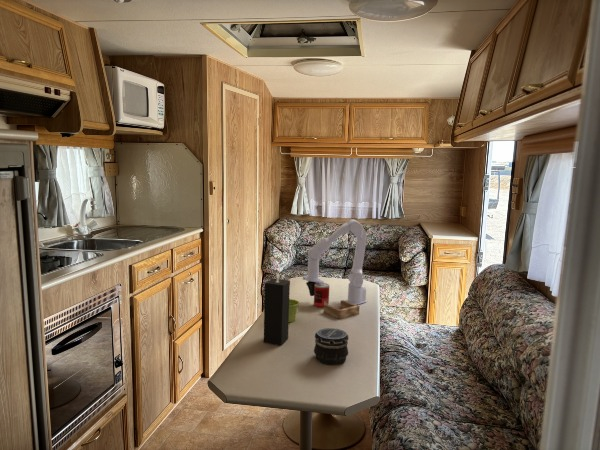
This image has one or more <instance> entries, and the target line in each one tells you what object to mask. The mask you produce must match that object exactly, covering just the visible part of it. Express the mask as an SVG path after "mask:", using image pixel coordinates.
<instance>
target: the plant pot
mask: <svg viewBox="0 0 600 450" xmlns="http://www.w3.org/2000/svg"><path fill="white" fill-rule="evenodd" d="M299 305H300V301H298V300H296V299H292V298H291V299H290V298H289V323H294V322H295V321H296V319H297V318H296V317H297V312H298V307H299Z"/></svg>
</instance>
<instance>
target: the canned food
mask: <svg viewBox="0 0 600 450" xmlns="http://www.w3.org/2000/svg"><path fill="white" fill-rule="evenodd" d="M329 299H330V284H329V283H326V282H324V283H323V285H319V284H317V283H316V284H315V286H314V296H313V305H314V307H315V308H321V309H322V308H323V309H324V305H325V304H327V305H330V301H329Z"/></svg>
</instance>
